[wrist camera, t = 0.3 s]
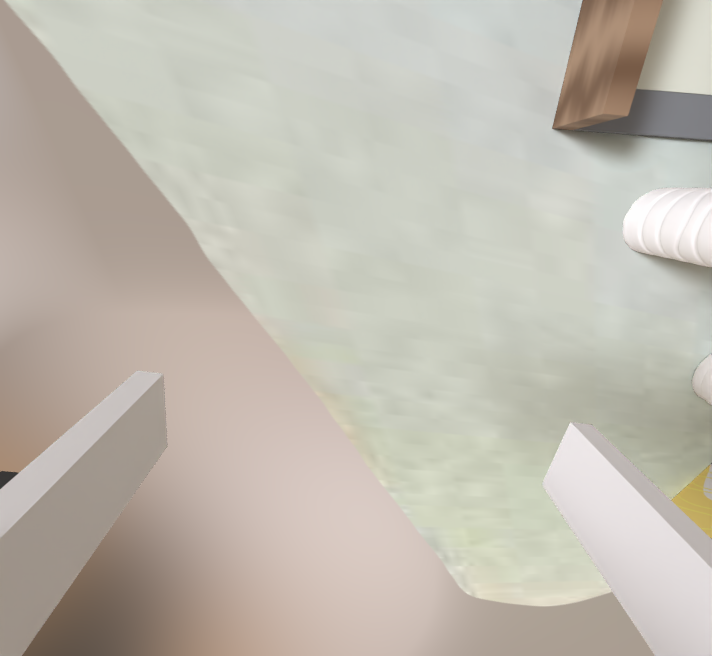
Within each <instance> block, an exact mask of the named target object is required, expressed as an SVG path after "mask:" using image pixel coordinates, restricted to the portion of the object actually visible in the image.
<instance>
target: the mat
mask: <svg viewBox="0 0 712 656" xmlns="http://www.w3.org/2000/svg"><path fill="white" fill-rule="evenodd" d="M575 130H577V131H590V132H603V133H616V134H629V135H642V136H655V137H668V138H681V139H693V140H706V141H712V0H663V3H662V6H661V9H660V12H659V16H658V19H657V22H656V26H655V29H654V32H653V35H652V39H651V42H650V45H649V49H648V52H647V55H646V58H645V62H644V65H643V68H642V72H641V75H640V78H639V81H638V85H637V88H636V91H635V94H634V98H633V101H632V104H631V108H630V111H629V114H628V116H625V117H621V118H618V119H614V120H610V121H606V122H602V123H598V124H595V125H591V126H587V127H583V128H579V129H575Z"/></svg>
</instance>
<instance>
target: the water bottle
mask: <svg viewBox="0 0 712 656" xmlns="http://www.w3.org/2000/svg"><path fill="white" fill-rule="evenodd" d="M622 234H623V238H624V241H625V242H626V244H628V245H629V247H630V248H631V249H633V250H635V251H637V252H641V253H646V254H650V255H656V256H660V257H664V258H670V259H675V260H678V261H682V262H688V263H694V264H697V265H701V266H707V267H712V188H659V189H655V190H652V191H649V192H648V193H647V194H644V195H642V196H641V197H640V198H638V199H637V200H636V201H635V202H634V203H633V204H632V206H631V207H630V210H629V211H628V212H627V213H626V215H625V218H624V221H623V231H622Z"/></svg>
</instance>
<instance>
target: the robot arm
mask: <svg viewBox="0 0 712 656" xmlns="http://www.w3.org/2000/svg"><path fill="white" fill-rule="evenodd" d="M164 394H165V392H164V375H163V374H162V373H154V372H145V371H136V372H135V373H134V374H133V375H132V376H130V377H129V378H128V379H127V380H126V381H125V382H123V383H122V384H121V385H120V386H119V387H118V388H116V389H115V390H114V391H113V392H112V393H111V394H110V395H108V396H107V397H106V398H105V399H104V400H103V401H102V402H101V403H99V404H98V405H97V406H96V407H95V408H93V409H92V410H91V411H90V412H89V413H88V414H86V415H85V416H84V417H83V418H82V419H81V420H80V421H78V422H77V423H76V424H75V425H74V426H73V427H71V428H70V429H69V430H68V431H67V432H66V433H65V434H63V435H62V436H61V437H60V438H59V439H58V440H56V441H55V442H54V443H53V444H52V445H51V446H50V447H49V448H47V449H46V450H45V451H44V452H43V453H42V454H41V455H39V456H38V457H37V458H36V459H35V460H33V461H32V462H31V463H30V464H29V465H28V466H27V467H25V468H24V469H23V470H22V471H21V472H20V473H16V472H5V471H1V472H0V656H22V654H23V653H24V652H25V650H26V649H27V647H28V646H29V644H30V643H31V642H32V640H33V639H34V637H35V636H36V634H37V633H38V631H39V630H40V629H41V627H42V626H43V624H44V623H45V621H46V620H47V619H48V617H49V616H50V614H51V613H52V611H53V610H54V608H55V607H56V606H57V604H58V603H59V601H60V600H61V598H62V597H63V596H64V594H65V592H66V591H67V590H68V588H69V587H70V585H71V584H72V583H73V581H74V580H75V578H76V576H77V575H78V574H79V573H80V571H81V570H82V568H83V567H84V565H85V564H86V562H87V561H88V560H89V558H90V557H91V555H92V554H93V552H94V551H95V550H96V548H97V547H98V545H99V544H100V542H101V541H102V539H103V538H104V536H105V535H106V534H107V532H108V531H109V529H110V528H111V526H112V525H113V524H114V522H115V521H116V519H117V518H118V517H119V515H120V514H121V512H122V511H123V509H124V508H125V506H126V505H127V503H128V502H129V501H130V499H131V498H132V496H133V495H134V494H135V492H136V490H137V489H138V488H139V486H140V485H141V483H142V482H143V481H144V479H145V478H146V476H147V475H148V473H149V472H150V470H151V469H152V468H153V466H154V465H155V463H156V462H157V460H158V459H159V458H160V456H161V455H162V453H163V452H164V450H165V449H166V448H167V429H166V411H165V395H164ZM542 486H543V487H544V489H545V490H546V492H547V493H548V495H549V496H550V498H551V499H552V501H553V502H554V504H555V505H556V507H557V508H558V510H559V511H560V513H561V514H562V516H563V517H564V519H565V521H566V522H567V524H568V525H569V527H570V528H571V530H572V531H573V533H574V534H575V536H576V537H577V539H578V540H579V542H580V543H581V545H582V546H583V548H584V549H585V551H586V552H587V554H588V555H589V557H590V558H591V560H592V561H593V563H594V564H595V566H596V567H597V569H598V570H599V572H600V573H601V575H602V576H603V578H604V579H605V581H606V582H607V584H608V585H609V587H610V588H611V590H612V591H613V593H614V595H615V596H616V598H617V599H618V600H619V602H620V603H621V605H622V607H623V608H624V610H625V611H626V613H627V614H628V616H629V617H630V618H631V620H632V622H633V623H634V625H635V626H636V628H637V629H638V631H639V632H640V634H641V635H642V637H643V638H644V640H645V641H646V643H647V644H648V646H649V647H650V649H651V650H652V652H653V653H654V655H655V656H712V538H710V537H709V536H708V535H707V534H706V533H705V532H704V531H703V530H702V529H701V528H699V527H698V526H697V525H696V524H695V523H694V522H693V521H692V520H691V519H690V518H689V517H688V516H687V515H686V514H685V513H684V512H683V511H682V510H681V509H680V508H679V507H678V506H676V505H675V504H674V503H673V502H672V501H671V500H670V499H669V498H668V497H667V496H666V495H665V494H664V493H663V492H662V491H661V490H660V489H659V488H658V487H657V486H656V485H655V484H654V483H652V482H651V481H650V480H649V479H648V478H647V477H646V476H645V475H644V474H643V473H642V472H641V471H640V470H639V469H638V468H637V467H636V466H635V465H634V464H633V463H632V462H631V461H629V460H628V459H627V458H626V457H625V456H624V455H623V454H622V453H621V452H620V451H619V450H618V449H617V448H616V447H615V446H614V445H613V444H612V443H611V442H610V441H609V440H608V439H606V438H605V437H604V436H603V435H602V434H601V433H600V432H599V431H598V430H597V429H596V428H595V427H594V426H593V425H592V424H583V423H575V422H570V424H569V426H568V428H567V431H566V433H565V435H564V437H563V439H562V441H561V444H560V446H559V448H558V450H557V452H556V455H555V457H554V459H553V461H552V463H551V465H550V468H549V470H548V472H547V474H546V476H545V478H544V481H543V483H542Z"/></svg>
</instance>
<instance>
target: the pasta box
mask: <svg viewBox="0 0 712 656" xmlns="http://www.w3.org/2000/svg"><path fill="white" fill-rule="evenodd" d="M671 501H672V502H673V503H674V504H675V505H676V506H678V507H679V508H680V509H681V510H682V511H683V512H684V513H685V514H686V515H687V516H688V517H689V518H690V519H691V520H692V521H693V522H694V523H695V524H696V525H697V526H698V527H699V528H701V529H702V530H703V531H704V532H705V533H706V534H707V535H708V536H709V537H710V538H712V463H711V464H710V465H709V466H708V467H707V468H706V469H705V470H704V471H703V472H701V473H700V474H699V475H698V476H697V477H696V478H695V479H694V480H693V481H692V482H691V483H689V484H688V485H687V486H686V487H685V488H684V489H683V490H682V491H681V492H680V493H679V494H677V495H676V496H675V497H674V498H673V499H672V500H671Z"/></svg>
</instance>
